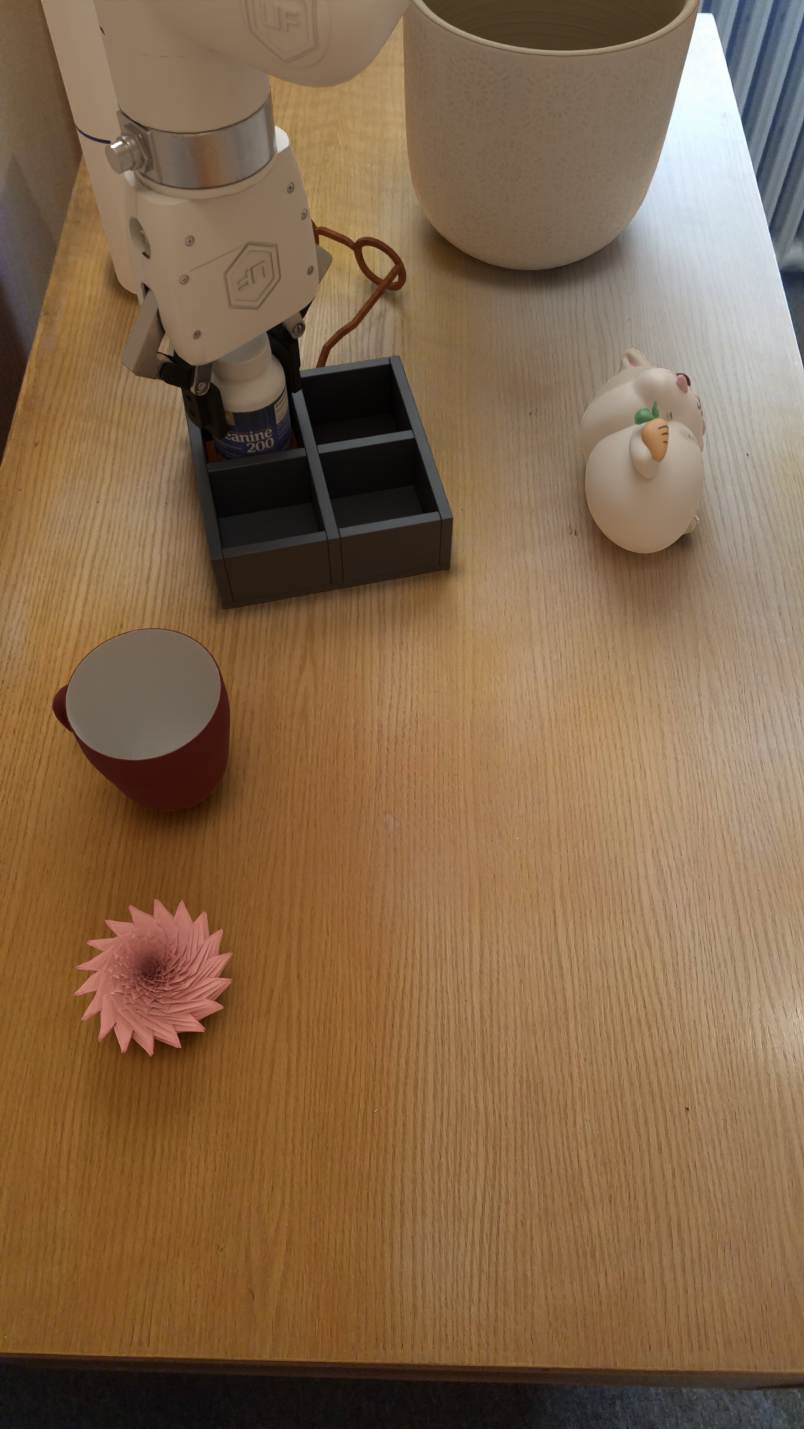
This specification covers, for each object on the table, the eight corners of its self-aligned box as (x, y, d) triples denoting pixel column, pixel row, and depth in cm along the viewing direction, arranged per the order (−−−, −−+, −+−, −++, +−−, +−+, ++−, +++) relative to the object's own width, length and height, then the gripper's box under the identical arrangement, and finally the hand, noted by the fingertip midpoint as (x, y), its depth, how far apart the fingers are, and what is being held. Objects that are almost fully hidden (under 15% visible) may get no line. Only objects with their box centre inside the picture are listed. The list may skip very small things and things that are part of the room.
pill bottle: (208, 479, 70) (182, 366, 62) (227, 423, 73) (204, 308, 64) (285, 488, 70) (269, 375, 61) (301, 432, 72) (288, 316, 64)
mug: (51, 820, 59) (-9, 737, 50) (99, 703, 63) (52, 607, 54) (226, 854, 58) (195, 775, 49) (264, 734, 62) (242, 641, 53)
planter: (633, 155, 92) (683, -94, 76) (657, 307, 82) (722, 57, 65) (404, 152, 93) (405, -97, 76) (399, 303, 82) (399, 52, 66)
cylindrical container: (142, 233, 86) (56, -124, 65) (218, 253, 85) (156, -105, 64) (100, 284, 83) (-5, -75, 62) (178, 305, 82) (98, -54, 60)
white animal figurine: (687, 486, 60) (670, 294, 66) (560, 523, 64) (554, 339, 70) (731, 564, 67) (712, 385, 73) (614, 593, 71) (605, 420, 77)
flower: (118, 1098, 51) (89, 1077, 47) (73, 957, 55) (42, 924, 50) (265, 1029, 53) (251, 1002, 48) (212, 897, 57) (194, 859, 52)
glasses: (409, 299, 82) (409, 243, 78) (314, 393, 77) (309, 339, 72) (279, 242, 86) (272, 186, 82) (179, 328, 80) (167, 273, 76)
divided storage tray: (399, 409, 76) (399, 354, 72) (450, 568, 68) (453, 518, 64) (193, 442, 74) (181, 388, 70) (222, 609, 67) (210, 560, 62)
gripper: (101, 234, 47) (176, 502, 63) (375, 94, 53) (381, 371, 69) (13, 164, 50) (106, 438, 65) (283, 39, 56) (309, 317, 71)
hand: (247, 401), depth 67 cm, fingers closed on pill bottle, 5 cm apart
